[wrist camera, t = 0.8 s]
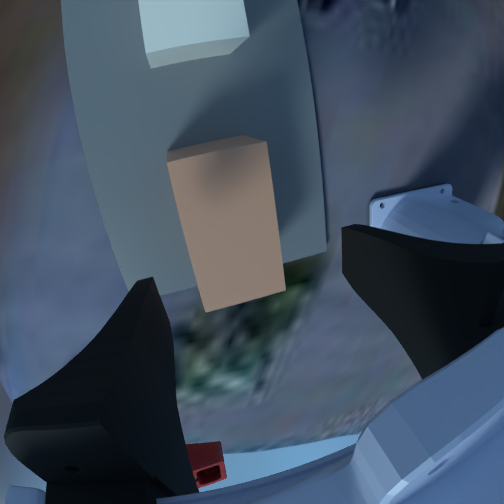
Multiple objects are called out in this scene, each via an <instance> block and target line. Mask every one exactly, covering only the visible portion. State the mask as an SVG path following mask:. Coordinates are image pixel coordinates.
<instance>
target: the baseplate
mask: <svg viewBox="0 0 504 504" xmlns="http://www.w3.org/2000/svg"><path fill="white" fill-rule="evenodd" d="M243 2H244V7H245V13H246V18H247V24H248V29H249V35H250V37H249V38H248V39H246V40H245V41H244V42H243V43H242V44H241V45H240V46H238V47H237V48H236V49H235V50H234V51H233V52H232V53H231V54H228V55H221V56H214V57H207V58H201V59H195V60H190V61H184V62H179V63H174V64H169V65H165V66H160V67H156V68H152V69H151V68H150V65H149V62H148V59H147V56H146V52H145V46H144V39H143V32H142V25H141V18H140V10H139V3H138V0H61V8H62V23H63V35H64V44H65V53H66V61H67V68H68V75H69V82H70V88H71V94H72V99H73V105H74V110H75V115H76V120H77V125H78V129H79V134H80V138H81V143H82V147H83V151H84V155H85V159H86V163H87V167H88V171H89V175H90V178H91V182H92V186H93V189H94V193H95V196H96V199H97V203H98V206H99V209H100V212H101V216H102V219H103V222H104V225H105V228H106V231H107V234H108V237H109V240H110V243H111V246H112V249H113V251H114V254H115V257H116V260H117V262H118V265H119V268H120V270H121V273H122V276H123V278H124V281H125V283H126V286H127V289H128V291H130V289H131V288H132V287H133V285H134V284H135V283H136V281H138V280H141V279H145V278H149V277H153V278H154V280H155V283H156V286H157V289H158V292H159V295H160V296H161V295H165V294H169V293H173V292H177V291H181V290H185V289H189V288H192V287H196V286H198V285H197V281H196V278H195V274H194V270H193V267H192V263H191V259H190V256H189V252H188V248H187V244H186V241H185V237H184V233H183V229H182V225H181V221H180V217H179V213H178V209H177V205H176V201H175V197H174V192H173V188H172V184H171V180H170V175H169V171H168V166H167V151H171V150H175V149H179V148H183V147H187V146H192V145H196V144H201V143H205V142H210V141H215V140H220V139H225V138H230V137H235V136H241V135H245V136H249V137H252V138H256V139H259V140H263V141H266V142H267V148H268V155H269V162H270V169H271V177H272V184H273V191H274V199H275V206H276V214H277V222H278V230H279V238H280V246H281V254H282V262H283V263H286V262H290V261H293V260H297V259H301V258H304V257H308V256H311V255H315V254H318V253H322V252H326V251H327V247H326V227H325V211H324V197H323V184H322V172H321V161H320V151H319V141H318V132H317V123H316V115H315V107H314V99H313V92H312V84H311V78H310V71H309V64H308V58H307V52H306V46H305V40H304V34H303V29H302V23H301V18H300V13H299V8H298V3H297V0H243Z"/></svg>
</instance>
